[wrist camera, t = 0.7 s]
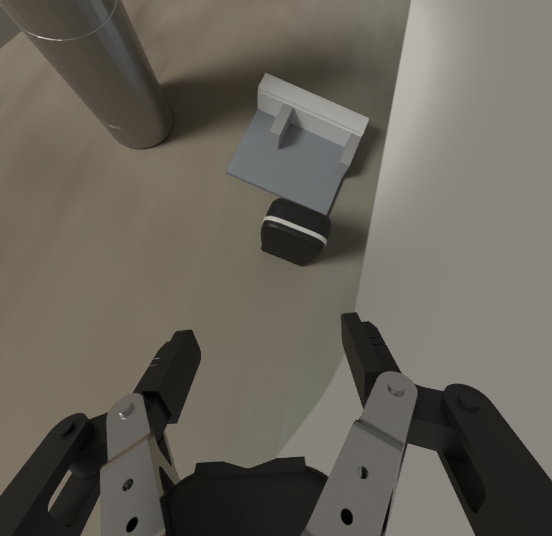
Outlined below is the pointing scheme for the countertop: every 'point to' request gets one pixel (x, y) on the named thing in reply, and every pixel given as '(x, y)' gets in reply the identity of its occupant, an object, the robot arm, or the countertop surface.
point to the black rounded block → (294, 232)
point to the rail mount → (297, 145)
